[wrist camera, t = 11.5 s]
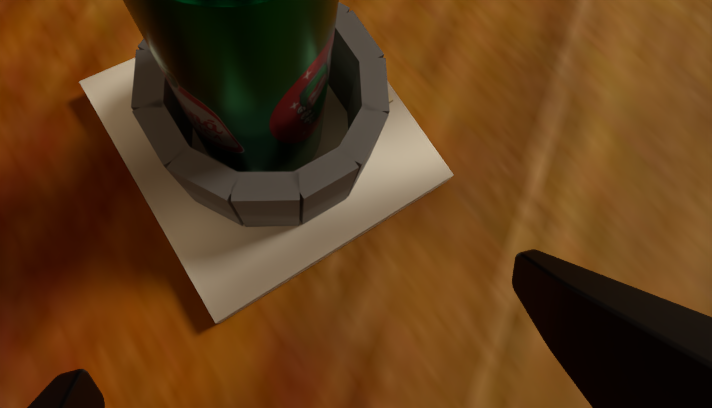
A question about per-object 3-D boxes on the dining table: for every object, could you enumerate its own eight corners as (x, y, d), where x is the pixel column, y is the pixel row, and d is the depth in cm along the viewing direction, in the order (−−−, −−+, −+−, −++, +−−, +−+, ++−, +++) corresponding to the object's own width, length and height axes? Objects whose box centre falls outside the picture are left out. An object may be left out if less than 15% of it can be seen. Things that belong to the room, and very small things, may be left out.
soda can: (186, 106, 18) (-1, -248, 7) (292, 68, 20) (283, -287, 8) (231, 207, 17) (104, -6, 6) (339, 161, 19) (407, -90, 7)
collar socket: (446, 181, 20) (492, 139, 15) (220, 323, 17) (190, 325, 12) (315, -5, 22) (320, -95, 17) (90, 93, 19) (19, 17, 14)
